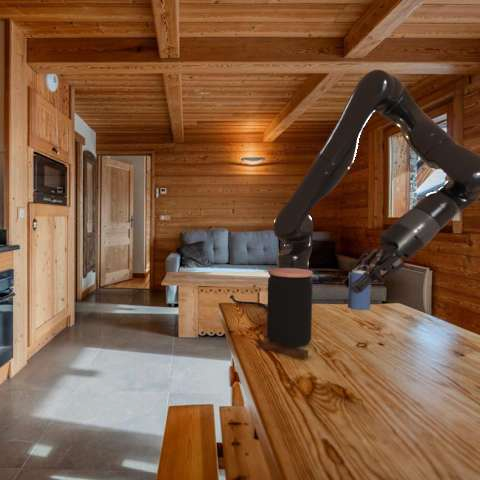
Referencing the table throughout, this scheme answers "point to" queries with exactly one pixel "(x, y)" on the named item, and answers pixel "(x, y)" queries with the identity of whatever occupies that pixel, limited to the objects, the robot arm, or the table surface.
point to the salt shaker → (354, 298)
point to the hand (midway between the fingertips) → (350, 287)
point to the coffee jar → (289, 306)
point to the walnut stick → (283, 349)
